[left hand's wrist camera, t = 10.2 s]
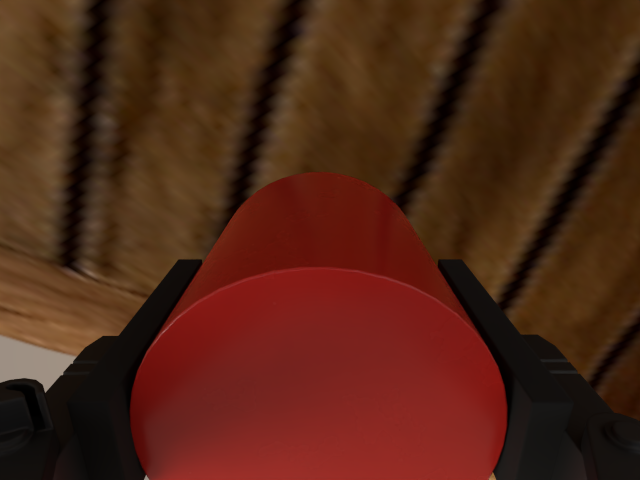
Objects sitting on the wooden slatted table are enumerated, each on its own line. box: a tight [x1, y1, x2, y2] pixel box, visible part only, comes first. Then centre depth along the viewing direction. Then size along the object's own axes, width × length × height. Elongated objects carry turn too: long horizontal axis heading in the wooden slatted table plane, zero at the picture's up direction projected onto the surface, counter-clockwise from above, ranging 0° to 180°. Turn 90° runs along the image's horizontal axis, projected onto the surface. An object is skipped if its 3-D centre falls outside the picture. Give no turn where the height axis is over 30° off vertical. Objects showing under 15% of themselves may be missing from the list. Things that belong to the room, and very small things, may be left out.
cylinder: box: [129, 172, 508, 480], centre depth 12 cm, size 8×8×8 cm
